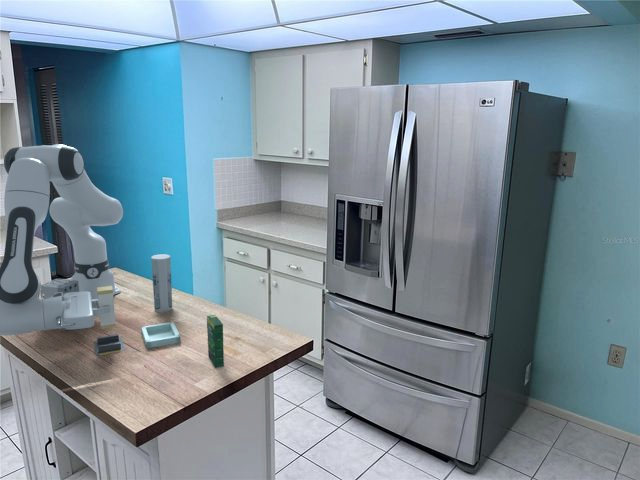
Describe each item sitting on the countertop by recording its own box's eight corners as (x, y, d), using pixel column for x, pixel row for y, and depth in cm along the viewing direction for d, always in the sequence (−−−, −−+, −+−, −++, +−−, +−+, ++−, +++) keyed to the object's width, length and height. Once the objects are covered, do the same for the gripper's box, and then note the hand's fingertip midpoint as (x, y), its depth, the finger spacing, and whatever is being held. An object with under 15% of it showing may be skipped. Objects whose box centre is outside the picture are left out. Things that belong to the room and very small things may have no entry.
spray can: (152, 306, 174) (149, 255, 170) (171, 304, 177) (168, 253, 173) (155, 313, 169) (152, 259, 164) (174, 310, 172) (171, 258, 167)
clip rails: (93, 343, 145) (93, 335, 144) (121, 338, 149) (121, 331, 148) (95, 357, 137) (94, 349, 136) (125, 352, 140) (124, 344, 140)
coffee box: (207, 356, 140) (206, 315, 136) (216, 354, 141) (215, 313, 138) (214, 368, 133) (213, 325, 130) (224, 366, 134) (223, 324, 131)
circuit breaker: (83, 333, 151) (78, 290, 148) (44, 328, 154) (39, 285, 150) (98, 324, 158) (94, 282, 155) (61, 319, 161) (56, 278, 157)
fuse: (100, 324, 142) (96, 287, 139) (115, 322, 144) (111, 285, 141) (101, 329, 139) (97, 291, 136) (116, 327, 141) (112, 289, 138)
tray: (141, 334, 152) (141, 326, 152) (173, 328, 157) (173, 321, 156) (146, 350, 142) (146, 342, 141) (180, 344, 146) (180, 336, 146)
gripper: (54, 316, 124) (111, 308, 130) (56, 290, 142) (106, 284, 148) (57, 338, 126) (113, 329, 132) (58, 310, 143) (107, 303, 150)
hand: (109, 305), depth 140 cm, fingers closed on fuse, 3 cm apart
